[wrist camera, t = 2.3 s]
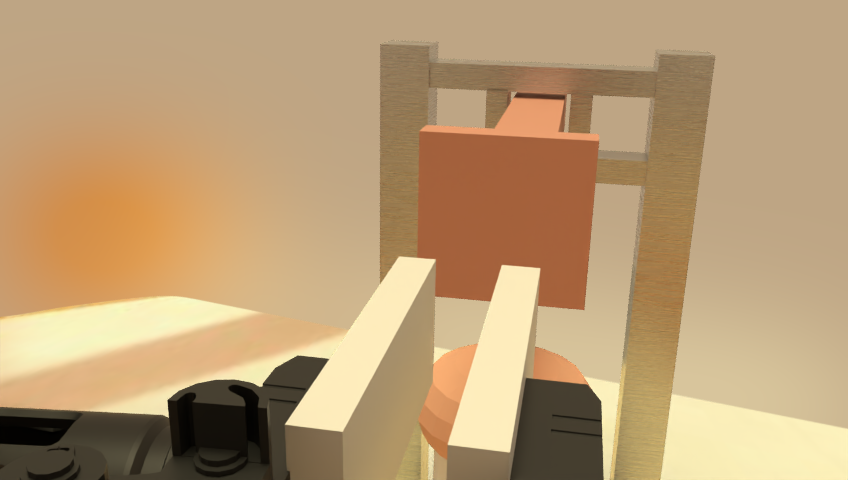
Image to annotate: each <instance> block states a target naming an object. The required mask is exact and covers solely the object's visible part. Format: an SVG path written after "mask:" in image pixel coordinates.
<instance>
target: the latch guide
mask: <svg viewBox="0 0 848 480" xmlns="http://www.w3.org/2000/svg"><path fill="white" fill-rule="evenodd" d="M380 45H381V46H380V284H381V282H382V281H383V279H384V278H385V277H386V275H387V274H388V272H389V271H390V269H391V268H392V266H393V265H394V263H395V262H396V260H397V259H398V257H399V256H400V257H412V258H417V244H418V186H419V131H420V130H421V129H422V128H423V127H425V126H426V125H434V126H436V116H437V115H436V114H437V88H446V89H469V90H487V96H486V119H485V128H490V129H495V127H496V125H497V124H498V122H499V121H500V119H501V117H502V116H503V114H504V113H505V111H506V109H507V108H508V106H509V105H510V102H511V91H513V92H535V93H557V94H571V106H570V118H569V132H568V133H584V134H590V124H591V112H592V100H593V95H601V96H623V97H646V98H650V107H649V117H648V126H647V136H646V145H645V153H637V152H620V151H602V150H598V159H597V171H596V182H595V183H606V184H622V185H636V186H641V192H640V201H639V211H638V220H637V229H636V239H635V248H634V257H633V267H632V276H631V285H630V295H629V304H628V314H627V323H626V333H625V342H624V351H623V361H622V370H621V379H620V389H619V398H618V407H617V417H616V426H615V435H614V445H613V454H612V463H611V473H610V480H660V478H661V470H662V463H663V455H664V447H665V439H666V432H667V424H668V416H669V409H670V401H671V393H672V385H673V378H674V370H675V362H676V355H677V347H678V339H679V332H680V324H681V315H682V308H683V301H684V293H685V285H686V278H687V270H688V262H689V254H690V247H691V238H692V231H693V223H694V216H695V207H696V201H697V193H698V185H699V177H700V170H701V162H702V154H703V146H704V139H705V131H706V123H707V116H708V108H709V100H710V93H711V85H712V77H713V69H714V61H715V56H714V55H713V54H711V53H709V52H707V51H679V50H656V52H655V61H654V67H640V66H614V65H589V64H563V63H535V62H511V61H485V60H457V59H438V42H422V41H420V42H419V41H394V40H392V41H388V42H385V43H382V44H380ZM428 452H429V443H428V442H427V440H426V439H425V437H424V435H423V433H422V430H421V427H420V424H419V421H417V424H416V426H415V429H414V431H413V434H412V436H411V439H410V442H409V444H408V447H407V449H406V452H405V455H404V457H403V460H402V462H401V465H400V468H399V470H398V473H397V475H396V478H395V480H428Z"/></svg>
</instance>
